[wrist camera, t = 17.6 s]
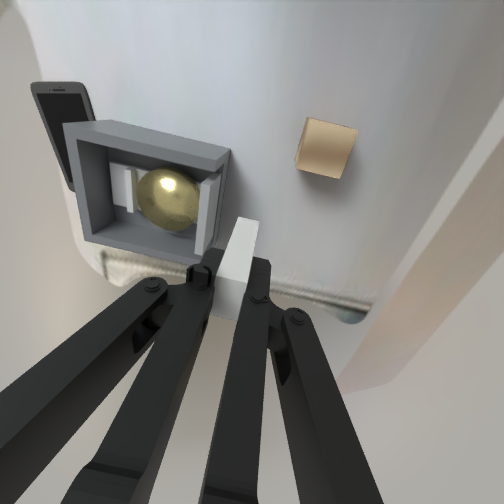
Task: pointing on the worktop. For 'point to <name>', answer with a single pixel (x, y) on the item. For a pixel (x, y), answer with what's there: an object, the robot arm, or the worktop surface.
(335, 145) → the pedestal
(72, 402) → the robot arm
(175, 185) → the disc
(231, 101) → the worktop surface
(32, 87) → the cell phone
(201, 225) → the grey i-beam
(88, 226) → the box
